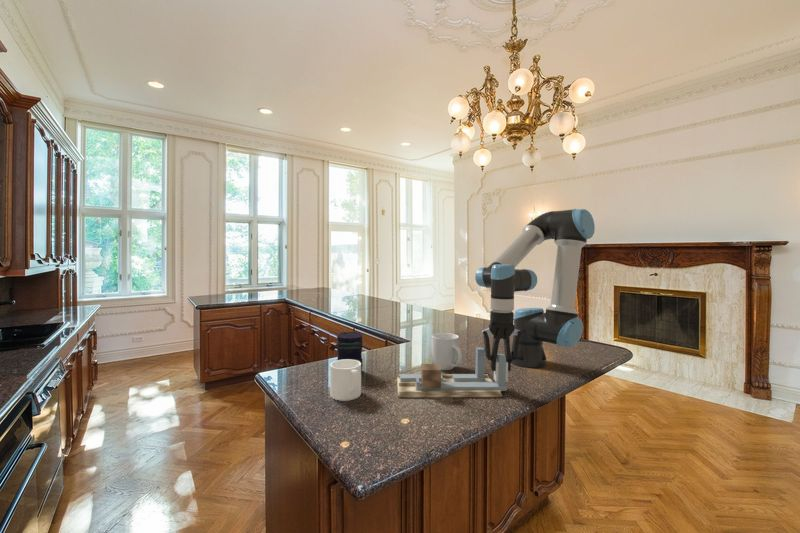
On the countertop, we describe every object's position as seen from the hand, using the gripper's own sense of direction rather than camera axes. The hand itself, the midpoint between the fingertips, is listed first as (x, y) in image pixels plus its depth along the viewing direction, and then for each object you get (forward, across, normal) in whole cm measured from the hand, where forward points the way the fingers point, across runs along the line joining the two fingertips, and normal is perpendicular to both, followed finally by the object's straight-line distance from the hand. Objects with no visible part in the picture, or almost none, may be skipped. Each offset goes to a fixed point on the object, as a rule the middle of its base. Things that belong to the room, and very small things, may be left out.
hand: (500, 380), depth 119 cm
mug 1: (+4, +51, +3) cm, 51 cm away
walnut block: (+2, +24, 0) cm, 24 cm away
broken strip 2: (+3, +9, -8) cm, 12 cm away
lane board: (+4, +18, -4) cm, 18 cm away
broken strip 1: (+3, +26, -8) cm, 27 cm away
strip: (+3, +13, 0) cm, 14 cm away
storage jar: (+4, +53, -18) cm, 56 cm away
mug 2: (+4, +15, -23) cm, 28 cm away
